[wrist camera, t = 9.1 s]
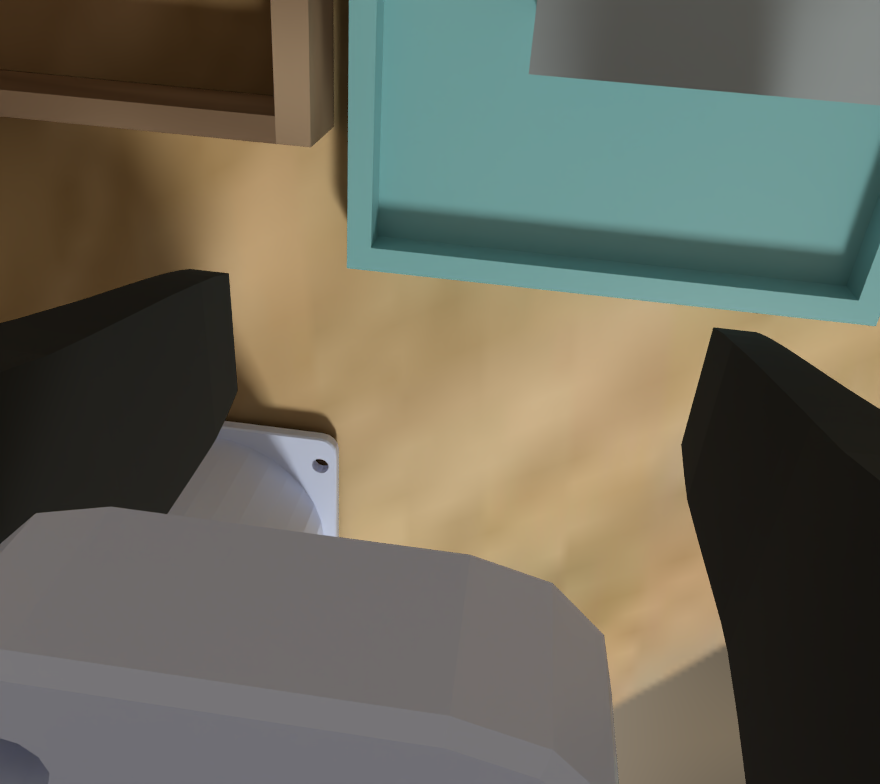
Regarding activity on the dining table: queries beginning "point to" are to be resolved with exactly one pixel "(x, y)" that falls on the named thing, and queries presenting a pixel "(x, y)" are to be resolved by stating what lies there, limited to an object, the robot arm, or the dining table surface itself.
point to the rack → (203, 92)
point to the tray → (599, 174)
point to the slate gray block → (716, 45)
